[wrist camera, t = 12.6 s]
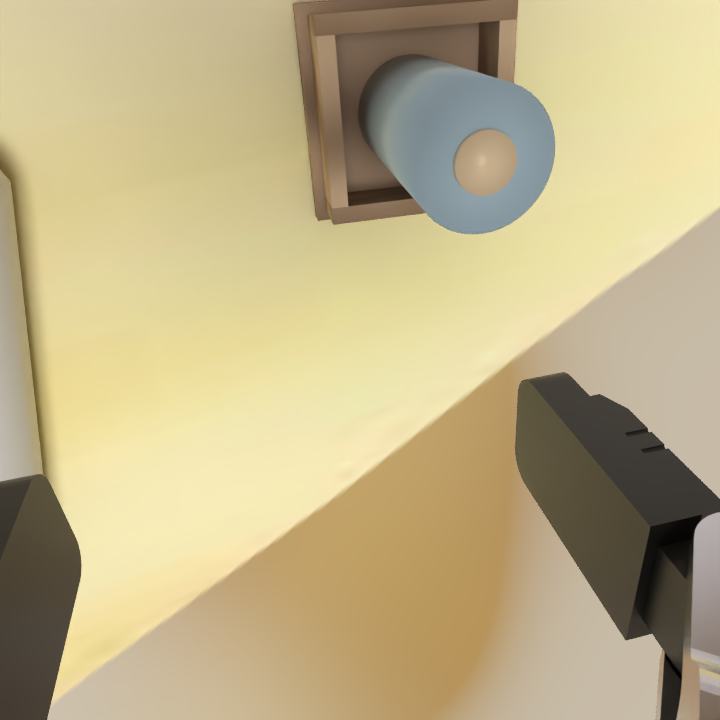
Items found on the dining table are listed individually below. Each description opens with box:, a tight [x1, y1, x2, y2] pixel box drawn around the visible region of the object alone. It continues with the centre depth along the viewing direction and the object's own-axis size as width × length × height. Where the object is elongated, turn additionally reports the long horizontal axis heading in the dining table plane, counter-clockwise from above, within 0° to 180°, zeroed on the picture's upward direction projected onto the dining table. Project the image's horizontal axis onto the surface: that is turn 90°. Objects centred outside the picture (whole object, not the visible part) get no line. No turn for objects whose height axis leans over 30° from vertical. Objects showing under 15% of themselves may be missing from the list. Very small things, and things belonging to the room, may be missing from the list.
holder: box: [293, 0, 518, 224], centre depth 30 cm, size 10×10×4 cm
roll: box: [358, 54, 555, 234], centre depth 26 cm, size 5×5×11 cm
